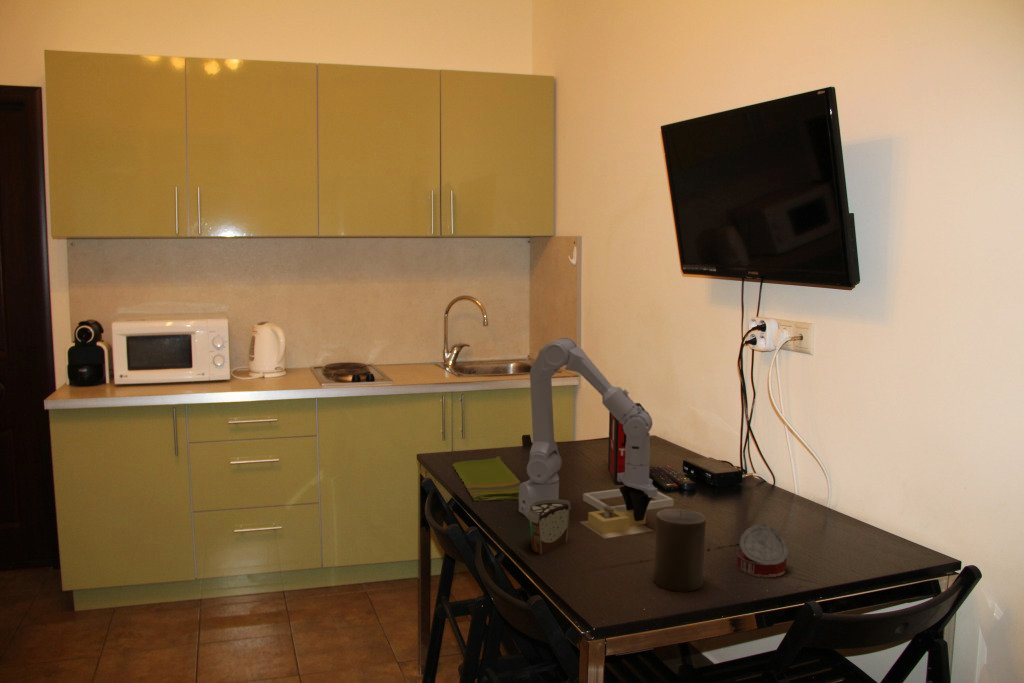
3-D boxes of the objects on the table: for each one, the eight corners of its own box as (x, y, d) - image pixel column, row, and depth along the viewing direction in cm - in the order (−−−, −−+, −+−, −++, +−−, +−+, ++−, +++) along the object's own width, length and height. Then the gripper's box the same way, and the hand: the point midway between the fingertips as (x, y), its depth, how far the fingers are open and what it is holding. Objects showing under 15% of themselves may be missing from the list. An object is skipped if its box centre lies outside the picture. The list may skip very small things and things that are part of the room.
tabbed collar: (602, 534, 191) (603, 521, 190) (587, 524, 197) (588, 512, 197) (650, 526, 196) (651, 514, 196) (634, 517, 202) (635, 505, 202)
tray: (608, 518, 204) (608, 508, 204) (582, 502, 216) (583, 493, 215) (673, 508, 212) (673, 499, 211) (645, 494, 223) (645, 485, 223)
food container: (548, 537, 191) (549, 495, 190) (570, 543, 187) (571, 500, 186) (514, 552, 181) (514, 508, 180) (536, 559, 177) (537, 514, 176)
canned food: (781, 587, 176) (807, 551, 172) (760, 597, 168) (787, 560, 165) (740, 550, 182) (763, 515, 179) (718, 558, 175) (742, 522, 171)
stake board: (604, 541, 188) (605, 518, 187) (579, 525, 199) (579, 502, 198) (653, 533, 193) (653, 511, 193) (625, 518, 204) (626, 496, 204)
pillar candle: (679, 596, 160) (683, 520, 158) (643, 579, 167) (646, 506, 166) (713, 585, 165) (717, 511, 164) (676, 568, 173) (680, 499, 171)
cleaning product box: (608, 468, 248) (609, 402, 246) (637, 469, 248) (639, 403, 246) (615, 485, 232) (616, 414, 229) (647, 485, 232) (649, 414, 229)
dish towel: (474, 504, 215) (474, 492, 215) (451, 467, 250) (451, 457, 250) (531, 501, 219) (531, 489, 219) (501, 465, 254) (501, 454, 253)
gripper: (669, 468, 192) (667, 525, 193) (635, 453, 205) (633, 507, 206) (643, 471, 189) (641, 529, 190) (610, 456, 202) (609, 510, 203)
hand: (635, 518), depth 198 cm, fingers closed on tabbed collar, 2 cm apart
